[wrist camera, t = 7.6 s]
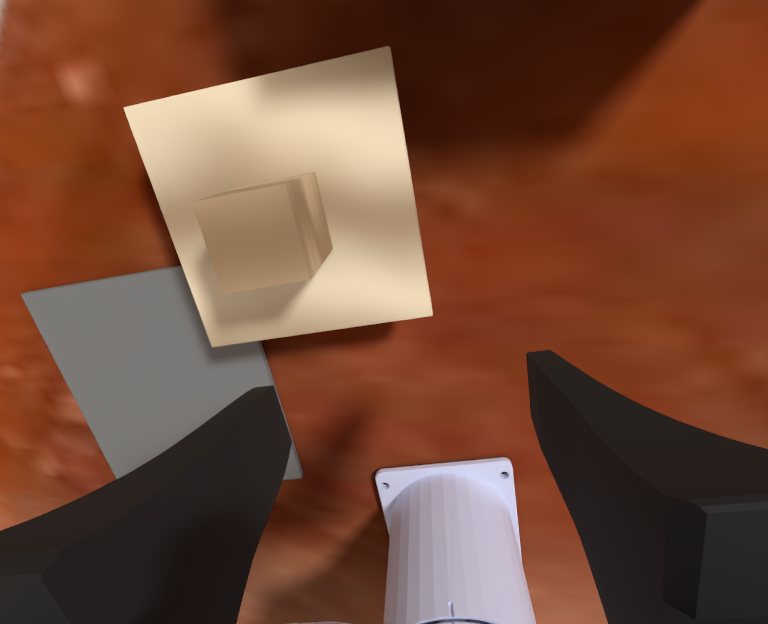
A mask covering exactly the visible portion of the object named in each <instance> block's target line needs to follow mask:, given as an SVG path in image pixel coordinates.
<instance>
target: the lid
mask: <svg viewBox="0 0 768 624" xmlns="http://www.w3.org/2000/svg"><path fill="white" fill-rule="evenodd" d="M124 110H125V113H126V116H127V119H128V121H129V124H130V127H131V129H132V132H133V135H134V137H135V140H136V143H137V146H138V148H139V151H140V154H141V156H142V159H143V162H144V165H145V167H146V170H147V173H148V175H149V178H150V181H151V183H152V186H153V189H154V192H155V194H156V197H157V200H158V202H159V205H160V208H161V211H162V213H163V216H164V219H165V221H166V224H167V227H168V230H169V232H170V235H171V238H172V240H173V243H174V246H175V248H176V251H177V254H178V257H179V259H180V262H181V265H182V267H183V270H184V273H185V276H186V278H187V281H188V284H189V286H190V289H191V292H192V294H193V297H194V300H195V303H196V305H197V308H198V311H199V313H200V316H201V319H202V322H203V324H204V327H205V330H206V332H207V335H208V338H209V340H210V343H211V346H212V347H218V346H225V345H232V344H239V343H246V342H253V341H260V340H266V339H273V338H280V337H287V336H294V335H301V334H308V333H315V332H322V331H329V330H336V329H343V328H350V327H357V326H364V325H371V324H378V323H385V322H392V321H399V320H406V319H413V318H420V317H427V316H433V313H432V304H431V298H430V292H429V286H428V279H427V273H426V267H425V260H424V254H423V248H422V242H421V235H420V229H419V223H418V217H417V210H416V204H415V198H414V192H413V185H412V179H411V173H410V167H409V160H408V154H407V148H406V141H405V135H404V129H403V123H402V116H401V110H400V104H399V98H398V91H397V85H396V79H395V73H394V66H393V60H392V54H391V49H390V46H386V47H382V48H377V49H373V50H369V51H365V52H360V53H356V54H352V55H347V56H343V57H339V58H334V59H330V60H326V61H322V62H317V63H313V64H309V65H304V66H300V67H296V68H291V69H287V70H283V71H279V72H274V73H270V74H266V75H261V76H257V77H253V78H248V79H244V80H240V81H236V82H231V83H227V84H223V85H218V86H214V87H210V88H206V89H201V90H197V91H193V92H188V93H184V94H180V95H175V96H171V97H167V98H163V99H158V100H154V101H150V102H145V103H141V104H137V105H132V106H128V107H124Z"/></svg>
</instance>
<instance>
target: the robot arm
mask: <svg viewBox="0 0 768 624" xmlns="http://www.w3.org/2000/svg"><path fill="white" fill-rule="evenodd" d="M526 356H527V369H528V382H529V395H530V408H531V417H532V421H533V424H534V427H535V431H536V434H537V437H538V441H539V444H540V447H541V450H542V452H543V454H544V456H545V459H546V461H547V463H548V465H549V468H550V470H551V472H552V474H553V477H554V479H555V481H556V483H557V485H558V488H559V490H560V492H561V494H562V497H563V499H564V501H565V503H566V505H567V508H568V510H569V512H570V514H571V516H572V519H573V521H574V523H575V526H576V528H577V531H578V533H579V536H580V539H581V542H582V545H583V548H584V550H585V553H586V556H587V559H588V562H589V565H590V568H591V571H592V574H593V577H594V580H595V584H596V587H597V590H598V593H599V596H600V599H601V602H602V605H603V608H604V612H605V615H606V618H607V621H608V624H768V449H765V448H761V447H757V446H754V445H750V444H746V443H742V442H739V441H736V440H732V439H729V438H726V437H723V436H719V435H716V434H713V433H711V432H708V431H705V430H702V429H699V428H696V427H694V426H691V425H688V424H685V423H683V422H680V421H677V420H675V419H672V418H670V417H668V416H665V415H663V414H661V413H659V412H656V411H654V410H652V409H649V408H647V407H645V406H643V405H641V404H639V403H637V402H635V401H633V400H631V399H629V398H627V397H625V396H623V395H621V394H619V393H618V392H616V391H614V390H612V389H610V388H609V387H607V386H605V385H603V384H602V383H600V382H598V381H597V380H595V379H593V378H592V377H590V376H589V375H587V374H586V373H584V372H582V371H581V370H579V369H578V368H576V367H575V366H573V365H572V364H570V363H569V362H567V361H566V360H564V359H563V358H561V357H560V356H559V355H557V354H556V353H554V352H552V351H551V350H545V351H537V352H529V353H526ZM291 444H292V440H291V437H290V434H289V431H288V428H287V425H286V421H285V418H284V415H283V412H282V409H281V406H280V403H279V400H278V397H277V394H276V391H275V388H274V385H270V386H262V387H254V388H252V389H251V390H249V391H247V392H246V393H244V394H243V395H241V396H240V397H239V398H237V399H236V400H234V401H233V402H232V403H230V404H229V405H228V406H226V407H225V408H224V409H222V410H221V411H220V412H218V413H217V414H216V415H214V416H213V417H212V418H210V419H209V420H208V421H206V422H205V423H204V424H203V425H201V426H200V427H198V428H197V429H196V430H194V431H193V432H191V433H190V434H189V435H187V436H186V437H184V438H183V439H181V440H180V441H179V442H177V443H176V444H174V445H173V446H171V447H170V448H169V449H167V450H166V451H164V452H162V453H161V454H159V455H158V456H156V457H155V458H153V459H151V460H150V461H148V462H146V463H145V464H143V465H141V466H140V467H138V468H136V469H135V470H133V471H131V472H129V473H128V474H126V475H124V476H122V477H120V478H118V479H116V480H114V481H112V482H111V483H109V484H107V485H105V486H103V487H101V488H99V489H97V490H95V491H93V492H91V493H89V494H87V495H85V496H83V497H81V498H79V499H77V500H75V501H72V502H70V503H68V504H66V505H64V506H61V507H59V508H57V509H54V510H52V511H50V512H48V513H45V514H43V515H41V516H38V517H36V518H33V519H31V520H28V521H26V522H23V523H20V524H18V525H15V526H12V527H10V528H7V529H4V530H2V531H0V624H236V623H237V618H238V614H239V610H240V606H241V602H242V598H243V594H244V590H245V587H246V583H247V579H248V575H249V572H250V568H251V564H252V561H253V558H254V555H255V552H256V549H257V546H258V543H259V540H260V538H261V535H262V533H263V530H264V527H265V525H266V522H267V520H268V517H269V514H270V512H271V509H272V507H273V504H274V501H275V499H276V496H277V494H278V491H279V488H280V486H281V483H282V480H283V477H284V475H285V471H286V467H287V463H288V459H289V454H290V449H291ZM502 472H507V473H505V474H501V473H502ZM375 480H376V484H377V488H378V492H379V496H380V500H381V504H382V508H383V512H384V517H385V521H386V525H387V529H388V533H389V537H390V541H389V554H388V568H387V581H386V594H385V608H384V621H383V624H536V621H535V617H534V612H533V608H532V604H531V600H530V595H529V591H528V587H527V582H526V578H525V574H524V570H523V565H522V557H521V547H520V537H519V528H518V518H517V508H516V498H515V488H514V479H513V469H512V464H511V461H510V460H509V459H507V458H503V457H501V458H491V459H480V460H470V461H459V462H449V463H438V464H428V465H418V466H407V467H397V468H386V469H380V470H378V471H377V472H376V476H375ZM383 483H388V484H387V485H385V484H383ZM287 624H350V623H342V622H334V621H330V622H308V623H287Z"/></svg>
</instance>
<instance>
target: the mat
mask: <svg viewBox="0 0 768 624" xmlns="http://www.w3.org/2000/svg"><path fill="white" fill-rule="evenodd" d="M21 296H22V298H23V300H24V302H25V304H26V306H27V308H28V310H29V312H30V314H31V315H32V317H33V319H34V321H35V323H36V325H37V327H38V329H39V331H40V333H41V335H42V337H43V338H44V340H45V342H46V344H47V346H48V348H49V350H50V352H51V354H52V356H53V358H54V360H55V361H56V363H57V365H58V367H59V369H60V371H61V373H62V375H63V377H64V379H65V381H66V383H67V385H68V386H69V388H70V390H71V392H72V394H73V396H74V398H75V400H76V402H77V404H78V406H79V408H80V409H81V411H82V413H83V415H84V417H85V419H86V421H87V423H88V425H89V427H90V429H91V431H92V433H93V434H94V436H95V438H96V440H97V442H98V444H99V446H100V448H101V450H102V452H103V454H104V456H105V457H106V459H107V461H108V463H109V465H110V467H111V469H112V471H113V473H114V475H115V477H116V479H118V478H120V477H122V476H124V475H126V474H128V473H129V472H131V471H133V470H135V469H136V468H138V467H140V466H141V465H143V464H145V463H146V462H148V461H150V460H151V459H153V458H155V457H156V456H158V455H159V454H161V453H162V452H164V451H166V450H167V449H169V448H170V447H171V446H173V445H174V444H176V443H177V442H179V441H180V440H181V439H183V438H184V437H186V436H187V435H189V434H190V433H191V432H193V431H194V430H196V429H197V428H198V427H200V426H201V425H203V424H204V423H205V422H206V421H208V420H209V419H210V418H212V417H213V416H214V415H216V414H217V413H218V412H220V411H221V410H222V409H224V408H225V407H226V406H228V405H229V404H230V403H232V402H233V401H234V400H236V399H237V398H239V397H240V396H241V395H243V394H244V393H246V392H247V391H249V390H251V389H252V388H254V387H262V386H270V385H274V388H275V391H276V394H277V397H278V400H279V403H280V406H281V409H282V412H283V415H284V411H283V408H282V405H281V402H280V399H279V396H278V393H277V390H276V387H275V384H274V380H273V377H272V374H271V371H270V368H269V365H268V362H267V359H266V356H265V352H264V349H263V346H262V343H261V340H260V341H253V342H246V343H239V344H232V345H225V346H218V347H212V346H211V343H210V340H209V338H208V335H207V332H206V330H205V327H204V324H203V322H202V319H201V316H200V313H199V311H198V308H197V305H196V303H195V300H194V297H193V294H192V292H191V289H190V286H189V284H188V281H187V278H186V276H185V273H184V270H183V267H182V265H180V266H174V267H168V268H162V269H156V270H151V271H145V272H139V273H133V274H128V275H122V276H116V277H110V278H104V279H99V280H93V281H87V282H81V283H76V284H70V285H64V286H58V287H52V288H47V289H41V290H35V291H29V292H25V293H23V294H21ZM284 418H285V415H284ZM285 421H286V418H285ZM286 425H287V428H288V431H289V434H290V437H291V440H292V444H291V449H290V454H289V459H288V463H287V467H286V471H285V475H284V477H283V480H289V479H300V478H302V477H303V470H302V467H301V464H300V461H299V458H298V455H297V452H296V449H295V446H294V443H293V439H292V436H291V433H290V430H289V427H288V424H287V421H286Z"/></svg>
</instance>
